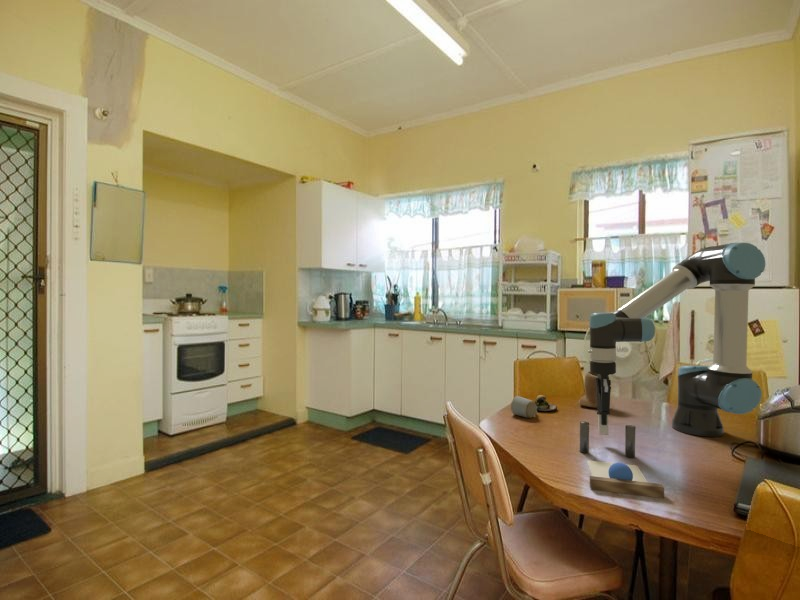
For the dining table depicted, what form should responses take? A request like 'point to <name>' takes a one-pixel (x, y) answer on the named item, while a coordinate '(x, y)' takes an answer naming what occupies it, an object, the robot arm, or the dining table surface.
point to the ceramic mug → (523, 407)
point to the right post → (630, 441)
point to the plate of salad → (544, 404)
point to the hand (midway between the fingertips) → (603, 434)
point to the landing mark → (603, 467)
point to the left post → (584, 437)
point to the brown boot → (590, 391)
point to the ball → (620, 472)
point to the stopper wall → (627, 486)
